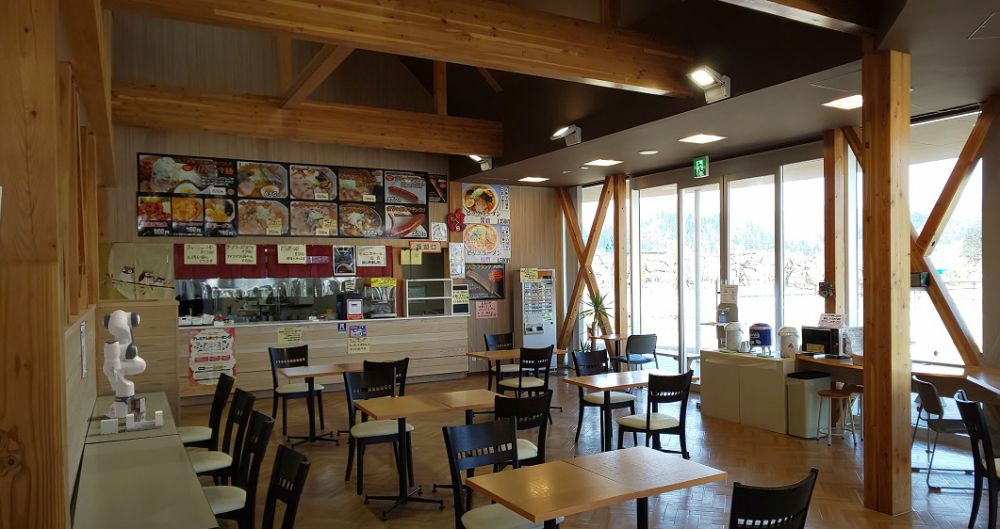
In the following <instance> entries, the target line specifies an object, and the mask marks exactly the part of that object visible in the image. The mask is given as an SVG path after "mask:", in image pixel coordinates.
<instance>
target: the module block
mask: <svg viewBox="0 0 1000 529" xmlns="http://www.w3.org/2000/svg"><path fill="white" fill-rule="evenodd" d="M111 433H113V434H118V433H119V418H109V419H101V420H100V435H101V436H102V434H104V435H111Z"/></svg>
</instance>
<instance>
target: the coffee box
mask: <svg viewBox="0 0 1000 529" xmlns="http://www.w3.org/2000/svg"><path fill="white" fill-rule="evenodd" d="M146 402H147V398H146V396H142V397H141V396H138V397H137V396H135V397H133V398H130V399H127V403H128V414H134V423H135V422H145V421H147V403H146Z"/></svg>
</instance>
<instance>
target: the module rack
mask: <svg viewBox="0 0 1000 529" xmlns="http://www.w3.org/2000/svg"><path fill="white" fill-rule="evenodd" d="M163 413H164V412H163V410H157V411H155V413H154V414H155V417H154V418H155V419H154V420H146V421H145V422H135V423H134V414H127V416H126V418H125V419H126V423H125V432H126V431H127V432H126V433H129V432H128V431H131V432H136V431H135V430H140V431H146V430H145V429H149V430H153V429H152V428H158V429H162V428H161V427H164V426H165V425H164V418H163V417H164V414H163Z"/></svg>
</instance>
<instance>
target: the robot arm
mask: <svg viewBox="0 0 1000 529" xmlns="http://www.w3.org/2000/svg"><path fill="white" fill-rule="evenodd" d="M140 322H141V317H140V315H139V313H138V312H135V311H132V312H128V311H126V312H125V311H124V310H121V309H117V310H114V311H113V312H112V313H107V314H105V315H104V316H103V319H102V325H103V327H104V329H107V330H108V332H109V333H110V335H112V336H114V339H111V340H107V341H105V342H104V345H103V349H102V358H104V359H103V360H104V362H103V366H102V371H103V374H104V375H105V376H106V377H107V378H108V381H109V383H110V388H111V390H112V391H115V396H114V399H113V400H114V401H113V403H112V404H111V405H110V406H109V408H108V412H107V413H105V414H104V415H105V416H106V417H108V418H109V419H124V418H125V417H126V416H127V414H128V403H127V399H130V398H133V397H136V394H135V383H134V382H133V381H132V380H130V379H127V378H125V377H124V376H129V375H137V374H141V373H143V372H144V371H145V370H146V367H147V363H146V360H144V358H142V357H140V356H139V355H138V347H137V344H136V340H135V335H134V334H135V333H134V330H135V328H137V327H138V326H139V324H140ZM125 419H126V418H125Z"/></svg>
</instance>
